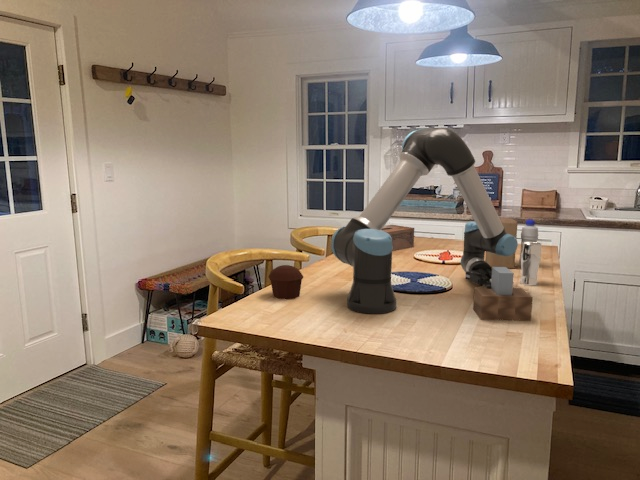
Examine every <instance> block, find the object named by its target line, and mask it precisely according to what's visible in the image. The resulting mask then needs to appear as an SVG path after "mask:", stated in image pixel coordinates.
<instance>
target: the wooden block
mask: <svg viewBox="0 0 640 480" xmlns="http://www.w3.org/2000/svg"><path fill="white" fill-rule="evenodd" d="M499 218H500V220H501V223H502V225H503V227H504V229H505V231H506V233H507V234H510V235H512V236H514V237H515V238H516V239H517V233H518V221H517V220H515V219H513V218H511V217H499ZM516 252H517V250H516V251H515V253H513V254H512V255H511V256H500V255H497V254H493V253H490V252H486V251H485V256H484V261H486V262H487V263H488V264H489V265H490V266H491V268H492V267H506V268H508V269H509V270H513V269H515V267H516V266H515V265H516V264H515V262H516Z"/></svg>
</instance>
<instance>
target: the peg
mask: <svg viewBox="0 0 640 480" xmlns="http://www.w3.org/2000/svg"><path fill="white" fill-rule="evenodd" d="M513 285H514V272H513V271H512V270H511V269H508V268H506V267H492V278H491V289H492V290H493V291H494V292H495V293H496V294H497V295H512V289H513V288H514V286H513Z"/></svg>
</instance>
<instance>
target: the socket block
mask: <svg viewBox="0 0 640 480" xmlns="http://www.w3.org/2000/svg"><path fill="white" fill-rule="evenodd" d="M472 309H473V311H474V312H475V314H476V315H477V317H478V318H479V319H480V320H481V321H512V320H514V321H513V322H515V321H519V322H520V321H523V322H531V320H532V310H533V296H532V295H530V294H529V293H528V292H527V291H526V290H525V289H524V288H522V287H513V289H512V295H497V294H496V293H495V292H494V291H493V290H492V289H491V285H486V287H485V286H474V291H473V307H472Z"/></svg>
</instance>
